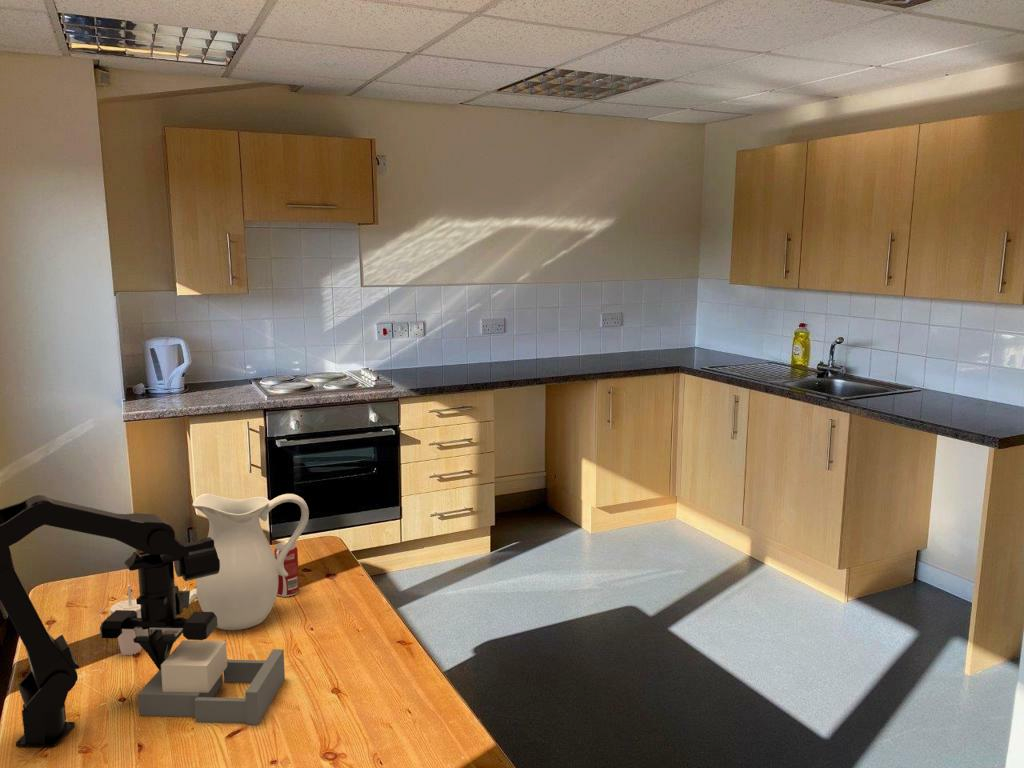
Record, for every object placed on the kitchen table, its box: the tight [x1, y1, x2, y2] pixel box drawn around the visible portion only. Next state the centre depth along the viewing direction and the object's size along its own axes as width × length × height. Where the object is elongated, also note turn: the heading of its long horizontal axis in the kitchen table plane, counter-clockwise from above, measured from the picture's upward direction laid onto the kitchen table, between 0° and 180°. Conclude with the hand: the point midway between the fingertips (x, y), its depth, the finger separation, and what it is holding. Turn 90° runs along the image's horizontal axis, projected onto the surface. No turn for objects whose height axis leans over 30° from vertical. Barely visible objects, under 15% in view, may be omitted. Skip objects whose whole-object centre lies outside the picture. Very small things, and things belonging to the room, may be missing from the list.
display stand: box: [137, 648, 286, 726], centre depth 146 cm, size 15×22×6 cm
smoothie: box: [110, 584, 142, 656], centre depth 163 cm, size 6×6×14 cm
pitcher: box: [192, 493, 310, 631], centre depth 177 cm, size 24×17×28 cm
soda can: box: [273, 540, 300, 598], centre depth 191 cm, size 5×5×12 cm
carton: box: [161, 639, 228, 693], centre depth 146 cm, size 9×8×5 cm
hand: (162, 669), depth 146 cm, fingers closed
